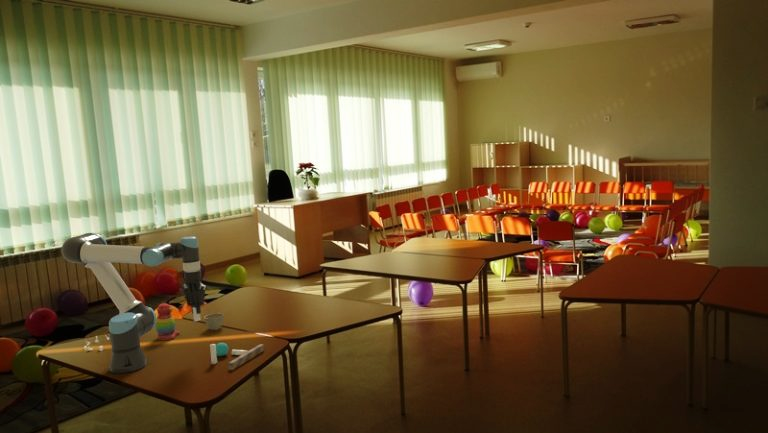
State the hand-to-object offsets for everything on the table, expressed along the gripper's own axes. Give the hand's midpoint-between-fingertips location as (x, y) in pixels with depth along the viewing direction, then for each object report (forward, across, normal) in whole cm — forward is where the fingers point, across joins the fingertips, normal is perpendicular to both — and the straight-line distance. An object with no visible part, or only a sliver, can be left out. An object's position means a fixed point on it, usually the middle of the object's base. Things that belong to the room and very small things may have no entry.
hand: (197, 320), depth 269 cm
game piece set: (+17, +61, -1) cm, 63 cm away
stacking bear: (+17, +36, -18) cm, 44 cm away
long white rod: (+16, -26, +1) cm, 31 cm away
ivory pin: (+15, -16, -4) cm, 22 cm away
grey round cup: (+17, +19, -35) cm, 43 cm away
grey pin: (+16, -14, +8) cm, 23 cm away
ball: (+13, -11, -1) cm, 18 cm away
